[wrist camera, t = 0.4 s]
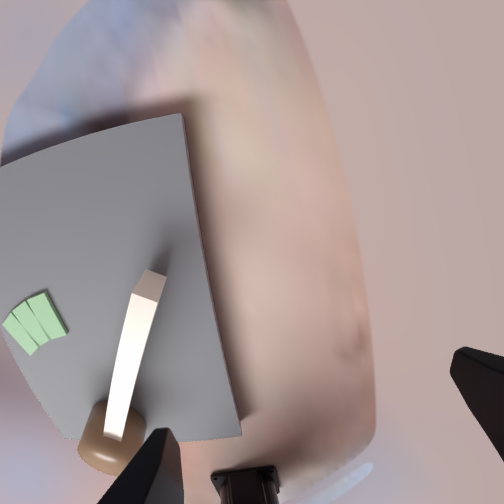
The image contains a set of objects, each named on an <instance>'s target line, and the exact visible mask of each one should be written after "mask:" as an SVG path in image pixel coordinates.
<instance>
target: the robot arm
mask: <svg viewBox="0 0 504 504" xmlns="http://www.w3.org/2000/svg"><path fill="white" fill-rule="evenodd" d="M450 374H451V377H452V379H453V380H454V382H455V384H456V386H457V388H458V389H459V391H460V393H461V395H462V396H463V398H464V400H465V402H466V404H467V405H468V407H469V409H470V410H471V412H472V413H473V415H474V416H475V418H476V419H477V421H478V422H479V424H480V425H481V427H482V428H483V430H484V431H485V433H486V434H487V436H488V437H489V439H490V441H491V442H492V444H493V445H494V447H495V448H496V450H497V451H498V453H499V455H500V456H501V458H502V460H503V461H504V357H503V356H499V355H495V354H492V353H488V352H484V351H481V350H477V349H473V348H469V347H462V348H460V349H458V350H456V351H455V353H454V355H453V359H452V363H451V367H450ZM211 481H212V483H213V485H214V487H215V488H216V490H217V492H218V494H219V496H220V498H221V504H279V501H278V496H277V494H278V493H279V492H280V491H279V484H278V478H277V471H276V467H275V466H269V467H263V468H257V469H250V470H243V471H235V472H226V473H216V474H212V475H211ZM97 504H184V489H183V479H182V468H181V456H180V447H179V444H178V442H177V440H176V438H175V437H174V435H173V433H172V431H171V429H170V428H168V427H162V428H155V429H154V430H153V431H152V433H151V434H150V435H149V437H148V438H147V439H146V441H145V442H144V443H143V445H142V446H141V447H140V449H139V450H138V451H137V453H136V454H135V455H134V457H133V458H132V459H131V461H130V462H129V463H128V464H127V466H126V467H125V468H124V470H123V471H122V472H121V474H120V475H119V476H118V477H117V479H116V480H115V481H114V483H113V484H112V485H111V487H110V488H109V489H108V490H107V492H106V493H105V494H104V495H103V497H102V498H101V499H100V501H99V502H98V503H97Z"/></svg>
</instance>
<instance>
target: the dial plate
mask: <svg viewBox="0 0 504 504" xmlns="http://www.w3.org/2000/svg"><path fill="white" fill-rule="evenodd" d="M145 269H147V270H150V271H152V272H155V273H158V274H161V275H163V276H166V277H167V279H166V282H165V285H164V288H163V291H162V294H161V297H160V300H159V303H158V307H157V310H156V313H155V316H154V320H153V323H152V326H151V330H150V333H149V336H148V340H147V343H146V347H145V350H144V354H143V357H142V361H141V365H140V368H139V372H138V376H137V380H136V383H135V387H134V391H133V395H132V399H131V403H130V408H132V409H134V410H135V411H136V412H138V413H139V414H140V415H141V416H142V417H143V419H144V420H145V423H146V433H145V439H144V442H145V441H146V439H147V438H148V437H149V435H150V434H151V433H152V431H153V430H154V429H155V428H162V427H168V428H170V429H171V431H172V433H173V435H174V437H175V438H176V440H177V442H188V441H201V440H211V439H221V438H229V437H236V436H242V431H241V423H240V419H239V415H238V411H237V407H236V402H235V398H234V394H233V390H232V385H231V381H230V377H229V372H228V368H227V363H226V359H225V354H224V350H223V345H222V340H221V336H220V331H219V326H218V321H217V316H216V311H215V306H214V301H213V296H212V291H211V286H210V281H209V275H208V270H207V264H206V259H205V253H204V248H203V242H202V236H201V230H200V224H199V218H198V212H197V206H196V199H195V193H194V186H193V180H192V173H191V166H190V159H189V152H188V144H187V137H186V129H185V121H184V116H183V115H182V113H177V114H171V115H166V116H161V117H156V118H151V119H147V120H142V121H138V122H134V123H130V124H125V125H121V126H117V127H114V128H110V129H106V130H103V131H99V132H95V133H92V134H89V135H85V136H82V137H79V138H76V139H73V140H69V141H66V142H63V143H60V144H58V145H55V146H52V147H49V148H46V149H43V150H41V151H38V152H35V153H33V154H30V155H28V156H25V157H23V158H20V159H18V160H15V161H13V162H11V163H8V164H6V165H4V166H2V167H0V329H1V331H2V333H3V336H4V338H5V340H6V342H7V344H8V346H9V348H10V350H11V352H12V354H13V356H14V358H15V360H16V362H17V364H18V366H19V368H20V370H21V371H22V373H23V375H24V377H25V378H26V380H27V382H28V384H29V386H30V387H31V389H32V391H33V392H34V394H35V395H36V397H37V399H38V400H39V402H40V404H41V405H42V407H43V408H44V410H45V411H46V413H47V414H48V416H49V417H50V419H51V420H52V421H53V423H54V424H55V426H56V427H57V429H58V430H59V431H60V433H61V434H62V435H63V437H64V438H65V439H73V440H81V437H82V434H83V431H84V428H85V426H86V423H87V420H88V417H89V415H90V412H91V409H92V407H93V406H94V405H95V404H96V403H98V402H102V401H108V399H109V394H110V388H111V382H112V377H113V372H114V367H115V362H116V357H117V352H118V347H119V343H120V338H121V334H122V330H123V326H124V321H125V317H126V313H127V309H128V305H129V302H130V298H131V294H132V292H133V290H134V288H135V286H136V285H137V283H138V281H139V279H140V278H141V276H142V274H143V273H144V271H145Z"/></svg>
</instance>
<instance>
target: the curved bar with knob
mask: <svg viewBox="0 0 504 504" xmlns="http://www.w3.org/2000/svg"><path fill="white" fill-rule="evenodd" d="M166 279H167V277H166V276H163V275H161V274H158V273H155V272H152V271H150V270H147V269H145V271H144V273H143V274H142V276H141V278H140V279H139V281H138V283H137V285H136V286H135V288H134V290H133V292H132V294H131V298H130V302H129V305H128V309H127V313H126V317H125V321H124V326H123V330H122V334H121V338H120V343H119V347H118V352H117V357H116V362H115V367H114V372H113V377H112V382H111V388H110V394H109V399H108V401H102V402H98V403H96V404H95V405H94V406H93V407H92V409H91V412H90V415H89V417H88V420H87V423H86V426H85V428H84V431H83V434H82V437H81V440H80V442H79V445H78V453H79V455H80V457H81V458H82V459H83V460H84V461H85V462H86V463H87V464H88V465H90V466H91V467H93V468H95V469H96V470H98V471H101V472H103V473H106V474H109V475H113V476H119V475H120V474H121V472H122V471H123V470H124V468H125V467H126V466H127V464H128V463H129V462H130V461H131V459H132V458H133V457H134V455H135V454H136V453H137V451H138V450H139V449H140V447H141V446H142V445H143V443H144V439H145V433H146V423H145V420H144V419H143V417H142V416H141V415H140V414H139V413H138V412H136V411H135V410H134V409H132V408H130V403H131V399H132V395H133V391H134V387H135V383H136V380H137V376H138V372H139V368H140V365H141V361H142V357H143V354H144V350H145V347H146V343H147V340H148V336H149V333H150V330H151V326H152V323H153V320H154V316H155V313H156V310H157V307H158V303H159V300H160V297H161V294H162V291H163V288H164V285H165V282H166Z"/></svg>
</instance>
